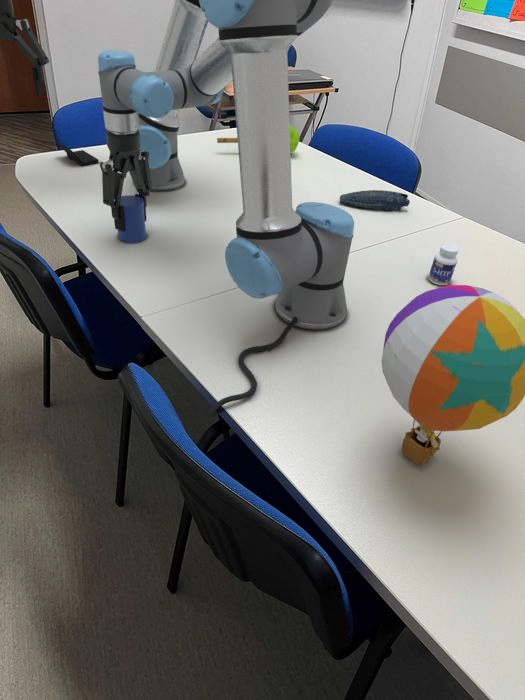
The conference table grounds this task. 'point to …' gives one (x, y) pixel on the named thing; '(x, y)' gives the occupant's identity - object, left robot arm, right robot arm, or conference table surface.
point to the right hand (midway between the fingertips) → (131, 224)
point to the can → (133, 219)
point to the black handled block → (79, 155)
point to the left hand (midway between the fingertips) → (13, 92)
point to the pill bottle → (443, 265)
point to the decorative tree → (293, 139)
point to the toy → (454, 363)
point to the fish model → (376, 199)
